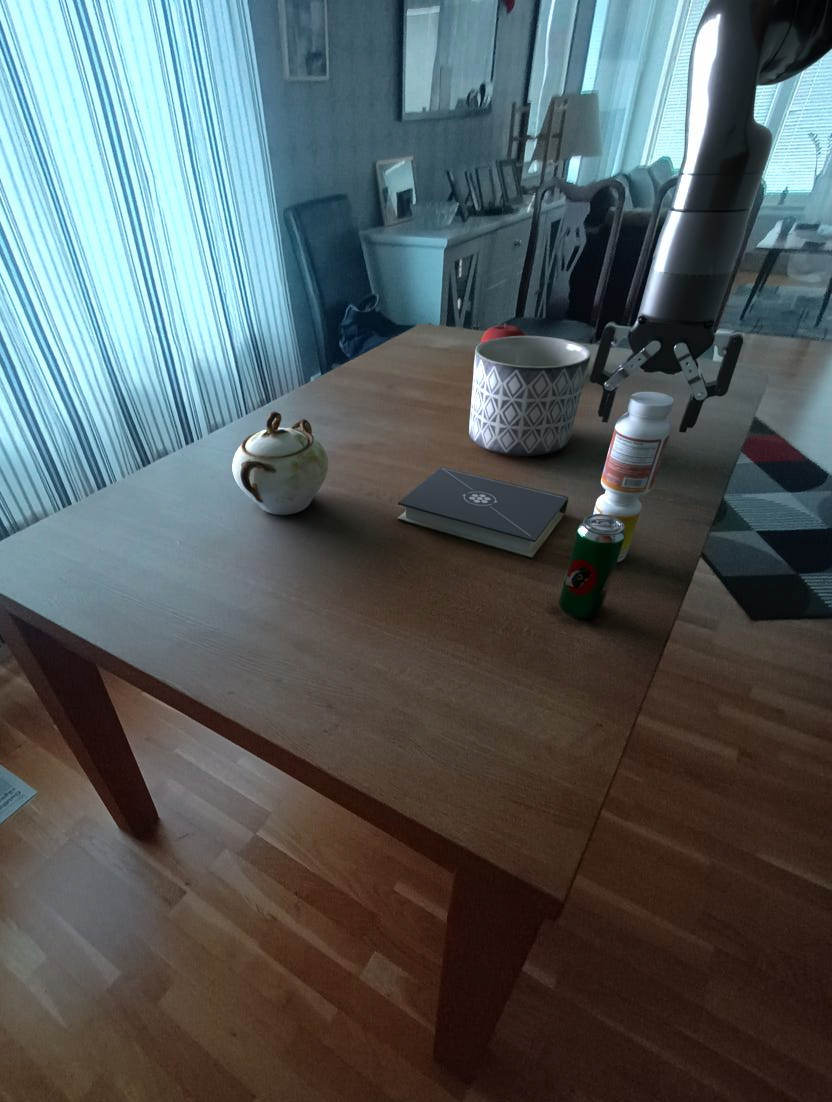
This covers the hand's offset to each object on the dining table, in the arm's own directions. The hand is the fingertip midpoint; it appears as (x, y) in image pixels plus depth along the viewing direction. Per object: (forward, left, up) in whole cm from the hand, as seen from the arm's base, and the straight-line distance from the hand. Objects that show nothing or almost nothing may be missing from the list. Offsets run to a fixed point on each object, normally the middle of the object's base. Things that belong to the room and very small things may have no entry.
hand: (643, 425), depth 68 cm
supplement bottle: (0, 0, -18) cm, 18 cm away
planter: (+34, -19, -18) cm, 43 cm away
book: (+18, +6, -18) cm, 26 cm away
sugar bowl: (+41, +28, -18) cm, 53 cm away
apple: (+65, -46, -18) cm, 82 cm away
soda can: (-6, +13, -18) cm, 23 cm away
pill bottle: (0, 0, -8) cm, 8 cm away
